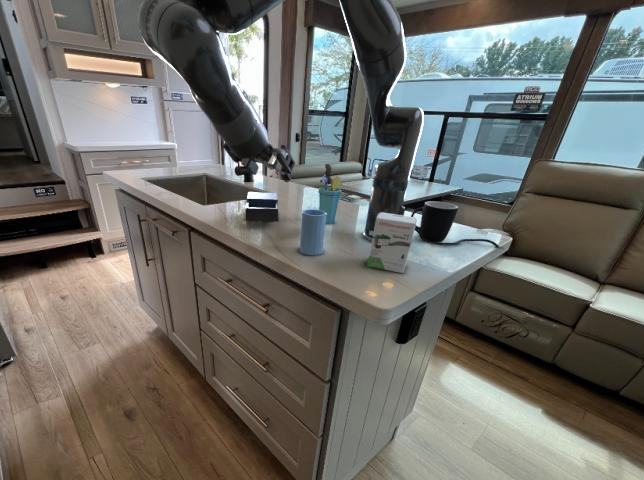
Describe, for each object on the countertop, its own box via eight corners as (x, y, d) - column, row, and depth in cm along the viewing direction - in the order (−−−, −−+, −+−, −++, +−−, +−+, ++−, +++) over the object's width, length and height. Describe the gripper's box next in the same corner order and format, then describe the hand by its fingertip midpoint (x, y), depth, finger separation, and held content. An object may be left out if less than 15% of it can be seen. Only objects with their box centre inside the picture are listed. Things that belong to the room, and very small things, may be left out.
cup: (328, 230, 98) (333, 179, 91) (305, 225, 101) (309, 176, 94) (343, 220, 109) (349, 173, 102) (323, 216, 112) (327, 171, 105)
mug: (450, 238, 96) (461, 204, 91) (444, 246, 90) (455, 210, 85) (411, 230, 102) (418, 198, 97) (402, 237, 95) (410, 202, 90)
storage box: (276, 213, 113) (277, 193, 110) (278, 229, 97) (278, 206, 93) (248, 212, 113) (248, 192, 109) (245, 228, 96) (244, 205, 92)
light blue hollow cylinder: (320, 247, 85) (324, 209, 80) (323, 255, 80) (327, 216, 75) (298, 246, 84) (301, 209, 79) (300, 255, 79) (303, 215, 74)
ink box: (366, 266, 75) (375, 216, 69) (369, 259, 79) (378, 211, 73) (404, 273, 72) (416, 222, 66) (405, 265, 76) (417, 216, 70)
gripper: (281, 110, 53) (306, 165, 68) (214, 101, 58) (251, 154, 73) (264, 150, 53) (293, 196, 68) (198, 137, 58) (239, 183, 73)
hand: (271, 174), depth 70 cm, fingers open, 8 cm apart
